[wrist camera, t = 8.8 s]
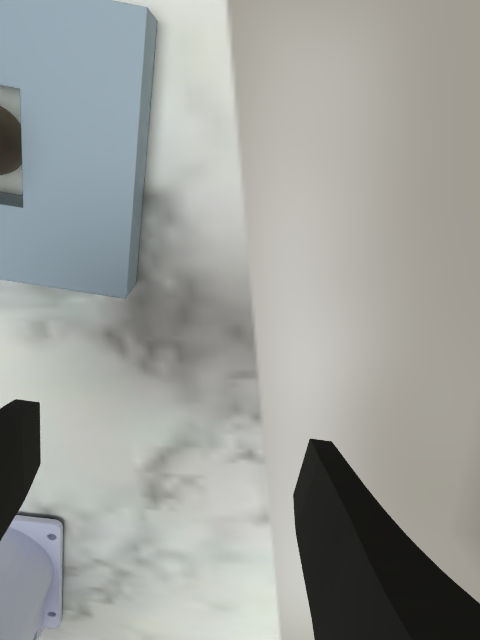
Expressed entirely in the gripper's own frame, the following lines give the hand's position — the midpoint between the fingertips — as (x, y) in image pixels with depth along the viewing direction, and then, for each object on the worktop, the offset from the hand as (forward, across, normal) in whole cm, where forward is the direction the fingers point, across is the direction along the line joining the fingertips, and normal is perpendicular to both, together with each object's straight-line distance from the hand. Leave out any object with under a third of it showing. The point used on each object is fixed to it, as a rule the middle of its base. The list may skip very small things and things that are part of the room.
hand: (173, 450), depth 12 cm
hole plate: (+9, +9, -6) cm, 14 cm away
